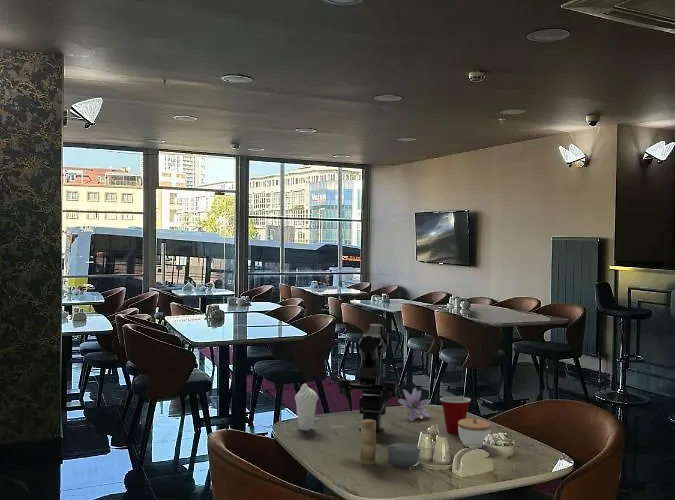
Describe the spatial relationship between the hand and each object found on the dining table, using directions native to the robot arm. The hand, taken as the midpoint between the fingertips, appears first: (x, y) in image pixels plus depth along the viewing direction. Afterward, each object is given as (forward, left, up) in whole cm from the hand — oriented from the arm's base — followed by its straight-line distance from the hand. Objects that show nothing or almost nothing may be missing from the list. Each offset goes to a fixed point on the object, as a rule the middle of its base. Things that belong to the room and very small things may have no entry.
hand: (365, 412), depth 203 cm
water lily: (-46, -11, -13) cm, 49 cm away
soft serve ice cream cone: (-6, -31, -13) cm, 34 cm away
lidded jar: (-31, +22, -13) cm, 40 cm away
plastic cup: (-41, +9, -13) cm, 44 cm away
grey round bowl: (-2, +13, -13) cm, 19 cm away
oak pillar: (+6, +6, -13) cm, 15 cm away
